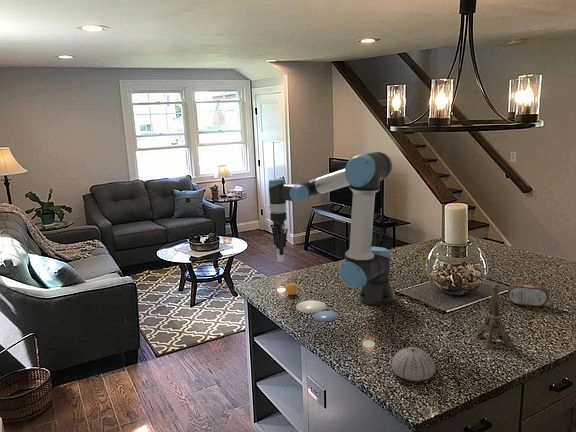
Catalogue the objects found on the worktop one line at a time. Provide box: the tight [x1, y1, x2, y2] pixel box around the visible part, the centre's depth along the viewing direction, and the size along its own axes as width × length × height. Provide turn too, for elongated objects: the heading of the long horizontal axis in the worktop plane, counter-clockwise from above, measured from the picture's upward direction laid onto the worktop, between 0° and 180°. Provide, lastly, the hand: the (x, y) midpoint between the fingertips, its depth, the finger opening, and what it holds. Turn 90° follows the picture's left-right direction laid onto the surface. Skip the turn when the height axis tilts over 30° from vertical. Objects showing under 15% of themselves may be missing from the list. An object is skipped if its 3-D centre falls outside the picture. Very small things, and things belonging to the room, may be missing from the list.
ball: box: [285, 282, 299, 296], centre depth 217 cm, size 6×6×6 cm
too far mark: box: [313, 310, 339, 323], centre depth 192 cm, size 10×10×1 cm
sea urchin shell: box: [390, 346, 436, 382], centre depth 147 cm, size 13×14×8 cm
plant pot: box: [420, 255, 428, 277], centre depth 231 cm, size 9×9×9 cm
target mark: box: [295, 300, 327, 314], centre depth 203 cm, size 13×13×1 cm
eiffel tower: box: [471, 278, 517, 350], centre depth 163 cm, size 11×11×25 cm
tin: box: [506, 283, 549, 307], centre depth 192 cm, size 15×3×8 cm, turn 65°
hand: (280, 260), depth 223 cm, fingers closed
